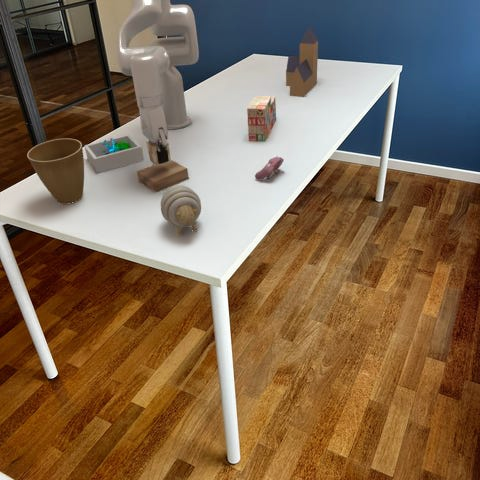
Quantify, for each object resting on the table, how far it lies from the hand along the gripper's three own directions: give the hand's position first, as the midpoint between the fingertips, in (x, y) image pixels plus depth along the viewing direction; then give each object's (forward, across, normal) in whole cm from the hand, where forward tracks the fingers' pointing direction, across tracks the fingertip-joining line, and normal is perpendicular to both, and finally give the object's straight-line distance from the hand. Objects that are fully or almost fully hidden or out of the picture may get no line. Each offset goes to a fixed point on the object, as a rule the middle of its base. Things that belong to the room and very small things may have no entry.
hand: (160, 158), depth 146 cm
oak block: (+1, 0, 0) cm, 1 cm away
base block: (+8, 0, 0) cm, 8 cm away
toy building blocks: (+7, -46, +83) cm, 95 cm away
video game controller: (+8, +16, +29) cm, 34 cm away
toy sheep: (+8, +27, -5) cm, 28 cm away
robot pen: (+7, -24, -8) cm, 26 cm away
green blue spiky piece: (+8, -27, -7) cm, 29 cm away
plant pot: (+8, -6, -28) cm, 30 cm away
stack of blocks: (+8, -16, +46) cm, 49 cm away
